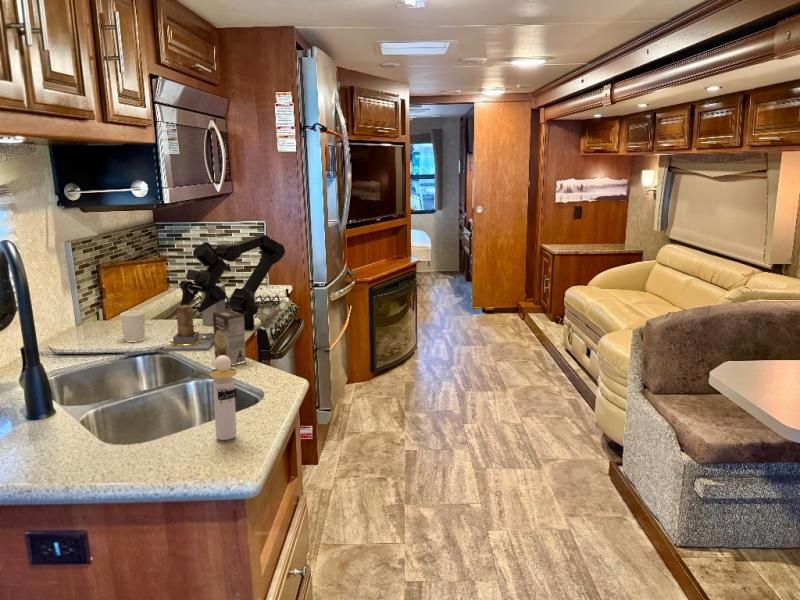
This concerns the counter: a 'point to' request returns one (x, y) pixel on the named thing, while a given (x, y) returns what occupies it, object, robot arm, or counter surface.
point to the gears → (190, 340)
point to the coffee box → (229, 335)
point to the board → (200, 347)
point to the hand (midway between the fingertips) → (190, 310)
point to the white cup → (133, 325)
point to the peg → (185, 321)
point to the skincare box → (212, 309)
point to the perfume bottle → (224, 398)
